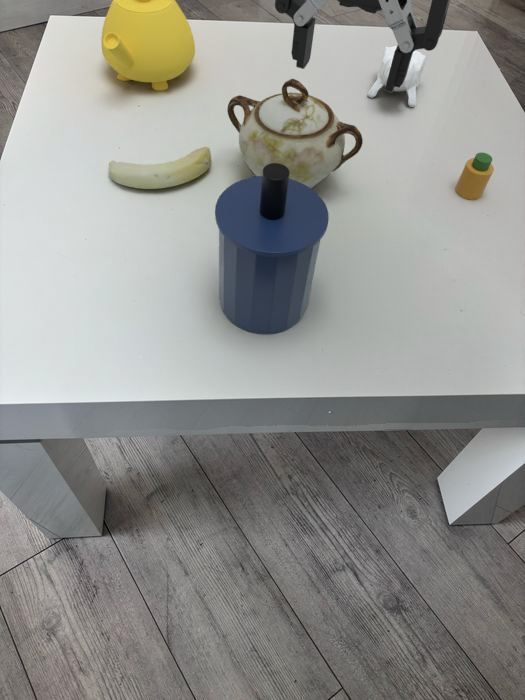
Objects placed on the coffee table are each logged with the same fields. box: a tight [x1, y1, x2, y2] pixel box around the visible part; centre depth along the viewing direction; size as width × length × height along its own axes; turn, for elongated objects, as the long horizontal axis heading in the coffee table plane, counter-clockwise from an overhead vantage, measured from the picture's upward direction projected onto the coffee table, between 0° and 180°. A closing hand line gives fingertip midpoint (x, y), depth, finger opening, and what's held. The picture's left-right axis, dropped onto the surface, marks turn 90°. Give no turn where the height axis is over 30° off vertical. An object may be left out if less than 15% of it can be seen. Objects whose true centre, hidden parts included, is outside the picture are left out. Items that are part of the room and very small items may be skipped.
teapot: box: [100, 0, 196, 92], centre depth 89 cm, size 20×16×14 cm
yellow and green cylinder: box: [455, 152, 495, 201], centre depth 80 cm, size 4×4×6 cm
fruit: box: [108, 146, 212, 190], centre depth 79 cm, size 7×15×3 cm, turn 102°
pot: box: [218, 229, 321, 335], centre depth 62 cm, size 11×11×14 cm
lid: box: [214, 163, 330, 257], centre depth 55 cm, size 12×12×6 cm
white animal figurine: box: [367, 45, 428, 108], centre depth 94 cm, size 9×8×15 cm
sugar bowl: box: [226, 78, 364, 190], centre depth 76 cm, size 20×15×15 cm
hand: (346, 76), depth 51 cm, fingers open, 8 cm apart
